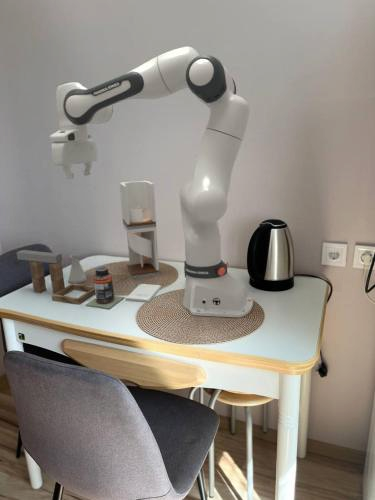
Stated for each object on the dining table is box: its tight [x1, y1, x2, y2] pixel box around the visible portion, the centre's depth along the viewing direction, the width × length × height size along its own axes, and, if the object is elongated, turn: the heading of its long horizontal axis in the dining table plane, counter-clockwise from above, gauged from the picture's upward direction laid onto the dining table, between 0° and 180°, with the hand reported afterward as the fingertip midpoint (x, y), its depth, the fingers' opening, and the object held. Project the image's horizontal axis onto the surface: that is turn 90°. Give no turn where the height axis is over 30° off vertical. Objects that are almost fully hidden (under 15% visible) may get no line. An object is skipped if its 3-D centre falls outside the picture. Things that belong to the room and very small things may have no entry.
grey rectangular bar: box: [16, 249, 63, 264], centre depth 138 cm, size 17×3×2 cm, turn 68°
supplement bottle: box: [93, 266, 115, 304], centre depth 129 cm, size 6×6×11 cm
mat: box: [85, 295, 125, 310], centre depth 131 cm, size 9×9×1 cm
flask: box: [67, 253, 88, 284], centre depth 150 cm, size 7×7×10 cm
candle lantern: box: [119, 180, 160, 280], centre depth 152 cm, size 11×11×35 cm
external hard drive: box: [124, 283, 162, 304], centre depth 136 cm, size 2×8×12 cm
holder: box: [28, 260, 96, 306], centre depth 137 cm, size 22×11×12 cm, turn 68°
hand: (79, 177), depth 137 cm, fingers open, 8 cm apart
